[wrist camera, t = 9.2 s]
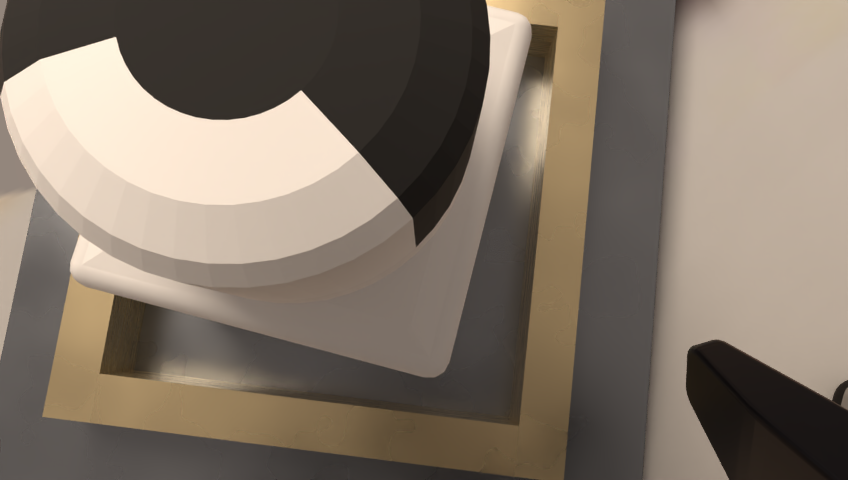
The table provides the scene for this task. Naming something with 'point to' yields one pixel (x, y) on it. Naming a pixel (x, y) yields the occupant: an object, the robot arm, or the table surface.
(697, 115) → the table surface
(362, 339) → the medicine bottle
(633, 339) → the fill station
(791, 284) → the table surface
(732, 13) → the table surface
